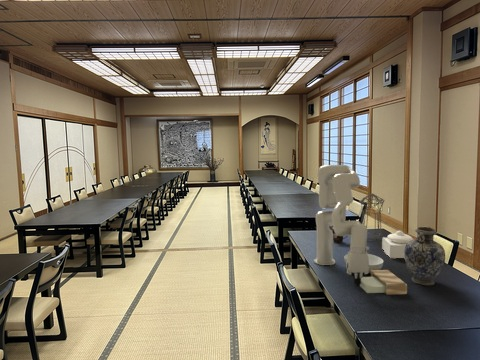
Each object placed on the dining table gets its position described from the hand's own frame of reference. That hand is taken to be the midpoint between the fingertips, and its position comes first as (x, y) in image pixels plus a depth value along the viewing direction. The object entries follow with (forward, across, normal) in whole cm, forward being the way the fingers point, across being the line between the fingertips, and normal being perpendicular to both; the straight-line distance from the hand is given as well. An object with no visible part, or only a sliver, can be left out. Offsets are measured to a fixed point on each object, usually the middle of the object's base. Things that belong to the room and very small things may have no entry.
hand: (357, 285), depth 170 cm
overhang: (+1, -15, 0) cm, 15 cm away
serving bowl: (+2, -13, -23) cm, 26 cm away
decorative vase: (+2, -37, -5) cm, 37 cm away
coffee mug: (+2, -19, -77) cm, 79 cm away
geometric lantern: (+2, -44, -81) cm, 92 cm away
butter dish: (+2, -48, -47) cm, 68 cm away
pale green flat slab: (+1, -10, 0) cm, 10 cm away
